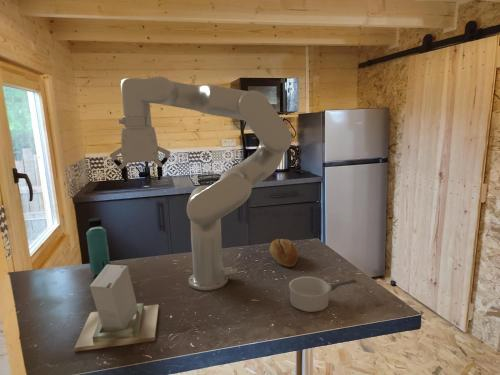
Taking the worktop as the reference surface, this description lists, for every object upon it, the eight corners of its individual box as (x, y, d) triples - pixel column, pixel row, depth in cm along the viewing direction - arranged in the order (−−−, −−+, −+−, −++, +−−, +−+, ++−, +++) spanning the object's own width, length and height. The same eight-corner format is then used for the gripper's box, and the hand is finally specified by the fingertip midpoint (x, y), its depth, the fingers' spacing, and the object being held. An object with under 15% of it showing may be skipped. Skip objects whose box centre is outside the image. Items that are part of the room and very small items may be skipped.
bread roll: (278, 271, 119) (277, 249, 117) (264, 255, 133) (264, 235, 131) (303, 267, 121) (303, 246, 119) (287, 251, 135) (288, 232, 134)
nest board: (158, 307, 97) (158, 299, 97) (154, 340, 83) (153, 331, 82) (91, 315, 94) (90, 307, 93) (74, 351, 80) (73, 342, 79)
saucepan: (365, 307, 95) (366, 289, 94) (297, 318, 91) (297, 299, 90) (345, 288, 106) (345, 271, 105) (283, 296, 102) (283, 279, 101)
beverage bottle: (104, 279, 115) (97, 222, 111) (86, 277, 116) (79, 221, 112) (115, 270, 121) (109, 216, 117) (98, 269, 123) (92, 215, 119)
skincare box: (118, 307, 92) (106, 262, 86) (139, 309, 92) (128, 263, 85) (102, 332, 85) (87, 285, 79) (125, 334, 84) (111, 286, 78)
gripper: (103, 123, 95) (110, 184, 98) (167, 122, 98) (172, 181, 102) (109, 123, 102) (115, 179, 106) (168, 121, 105) (172, 176, 109)
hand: (143, 180), depth 104 cm, fingers open, 9 cm apart
